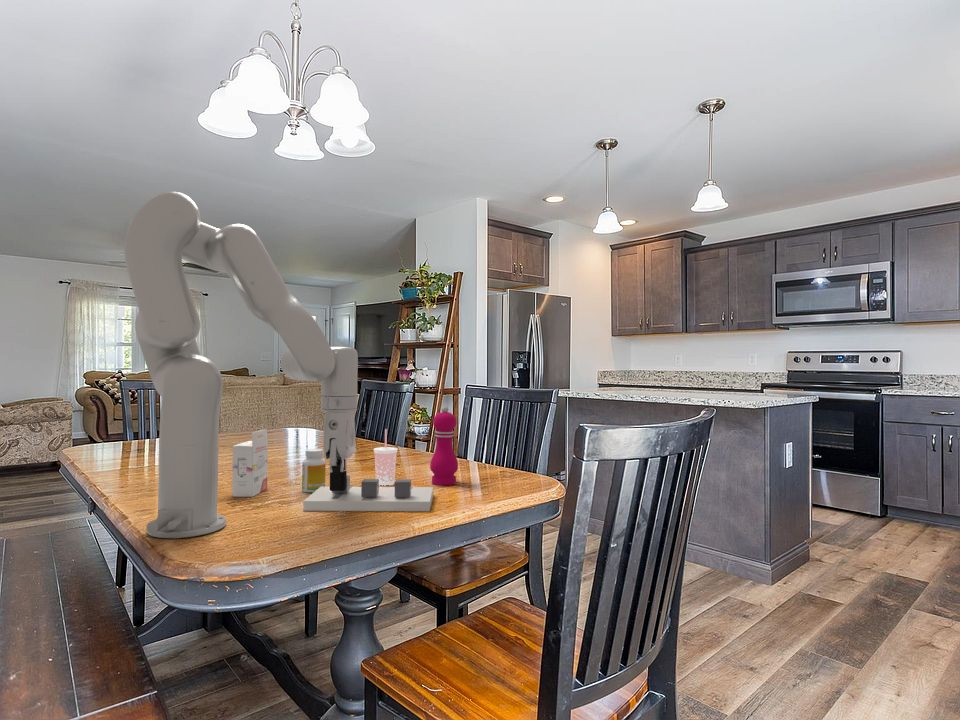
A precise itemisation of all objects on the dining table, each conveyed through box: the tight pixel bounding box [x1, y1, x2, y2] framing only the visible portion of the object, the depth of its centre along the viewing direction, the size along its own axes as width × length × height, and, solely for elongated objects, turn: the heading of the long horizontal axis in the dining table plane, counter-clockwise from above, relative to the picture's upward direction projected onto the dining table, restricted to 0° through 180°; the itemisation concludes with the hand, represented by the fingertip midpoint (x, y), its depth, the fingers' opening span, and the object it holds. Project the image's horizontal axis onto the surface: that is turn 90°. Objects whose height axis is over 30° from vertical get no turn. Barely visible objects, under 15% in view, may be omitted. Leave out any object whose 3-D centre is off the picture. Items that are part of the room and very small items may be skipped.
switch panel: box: [302, 486, 434, 512], centre depth 120 cm, size 14×26×2 cm, turn 92°
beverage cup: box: [373, 428, 399, 487], centre depth 140 cm, size 6×6×14 cm
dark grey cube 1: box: [332, 475, 351, 493], centre depth 121 cm, size 3×3×3 cm
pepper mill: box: [429, 405, 459, 486], centre depth 142 cm, size 7×7×20 cm
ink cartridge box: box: [231, 428, 269, 498], centre depth 128 cm, size 9×5×15 cm, turn 179°
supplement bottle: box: [301, 448, 327, 493], centre depth 132 cm, size 5×5×10 cm
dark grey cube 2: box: [360, 478, 380, 497], centre depth 117 cm, size 3×3×3 cm
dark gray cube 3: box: [394, 478, 412, 497], centre depth 117 cm, size 3×3×3 cm
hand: (338, 489), depth 117 cm, fingers closed
